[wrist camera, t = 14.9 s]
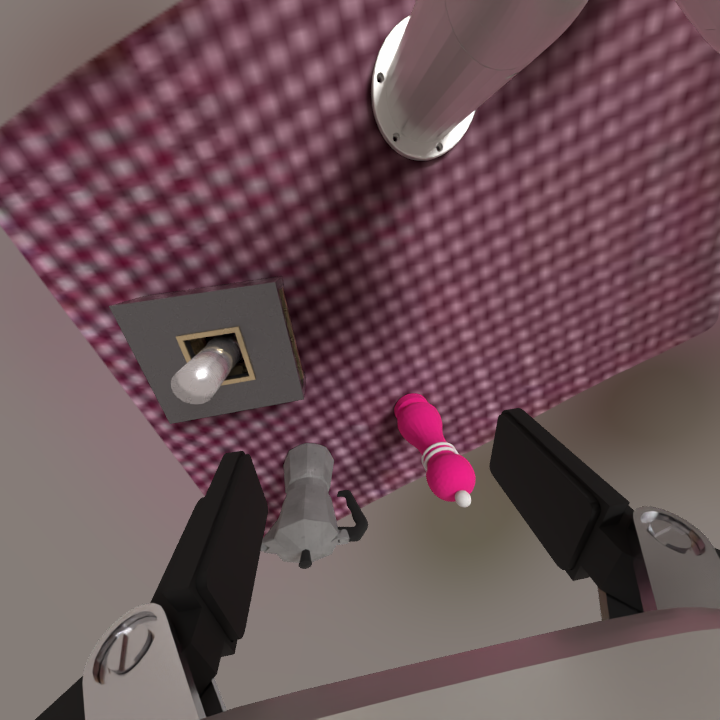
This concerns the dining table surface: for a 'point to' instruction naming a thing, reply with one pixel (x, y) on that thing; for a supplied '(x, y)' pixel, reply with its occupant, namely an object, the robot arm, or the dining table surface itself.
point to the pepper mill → (435, 450)
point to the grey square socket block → (210, 318)
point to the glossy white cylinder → (207, 370)
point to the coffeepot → (310, 510)
